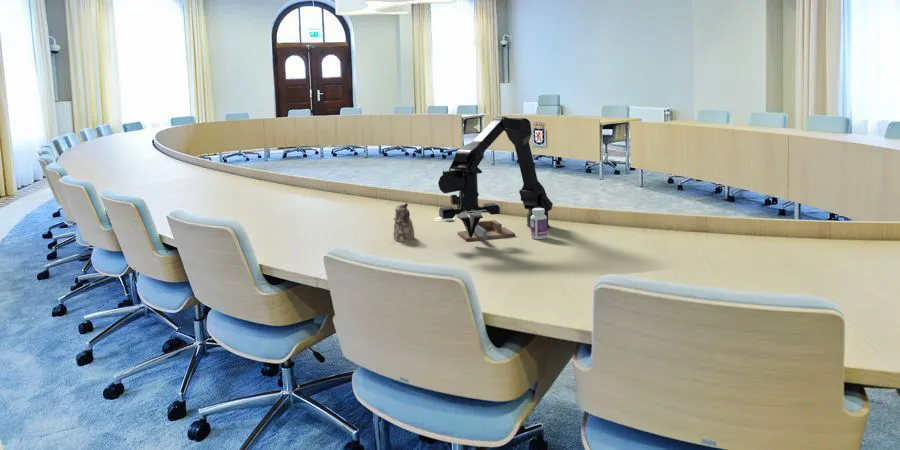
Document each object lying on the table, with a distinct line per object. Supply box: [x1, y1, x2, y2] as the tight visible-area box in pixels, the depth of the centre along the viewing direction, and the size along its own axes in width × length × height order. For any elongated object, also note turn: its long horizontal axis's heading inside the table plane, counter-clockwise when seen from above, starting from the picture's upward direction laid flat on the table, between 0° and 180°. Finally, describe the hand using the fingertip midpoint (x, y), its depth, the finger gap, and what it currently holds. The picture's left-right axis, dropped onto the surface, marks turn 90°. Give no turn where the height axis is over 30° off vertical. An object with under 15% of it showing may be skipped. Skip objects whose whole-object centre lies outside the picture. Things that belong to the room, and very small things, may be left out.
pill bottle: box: [530, 208, 548, 240], centre depth 226 cm, size 5×5×10 cm
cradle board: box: [457, 219, 516, 242], centre depth 233 cm, size 17×11×4 cm, turn 104°
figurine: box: [392, 202, 415, 242], centre depth 232 cm, size 7×7×12 cm
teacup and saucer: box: [434, 216, 456, 222], centre depth 263 cm, size 9×8×4 cm
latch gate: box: [475, 225, 488, 241], centre depth 225 cm, size 9×2×3 cm, turn 14°
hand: (470, 237), depth 220 cm, fingers closed
